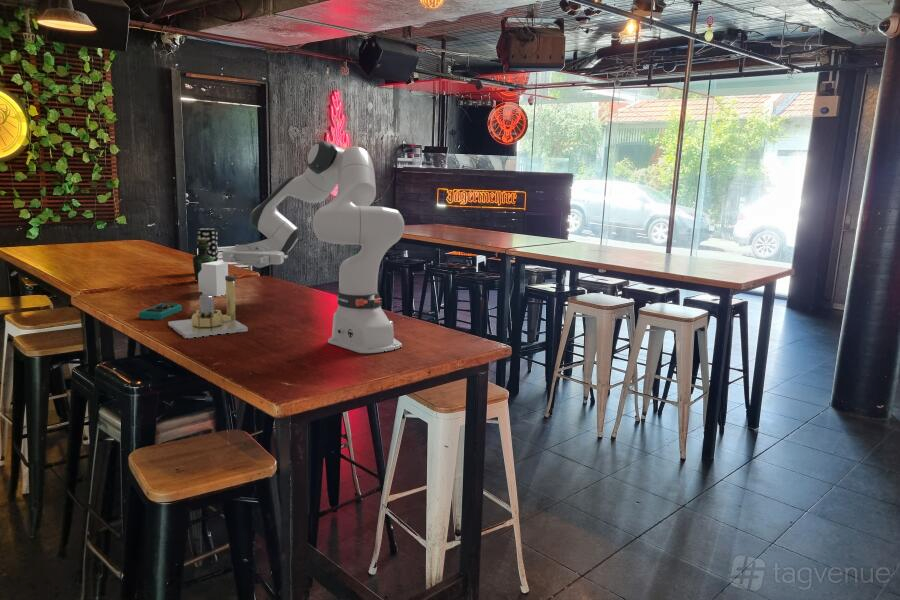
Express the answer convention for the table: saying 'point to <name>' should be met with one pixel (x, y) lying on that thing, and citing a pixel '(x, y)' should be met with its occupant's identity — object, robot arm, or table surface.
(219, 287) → the corner bracket
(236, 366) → the table surface
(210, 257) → the potion bottle
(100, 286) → the table surface
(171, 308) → the digital multimeter
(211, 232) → the white-spotted black cylinder
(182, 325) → the spigot base
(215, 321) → the brass metal fixture
